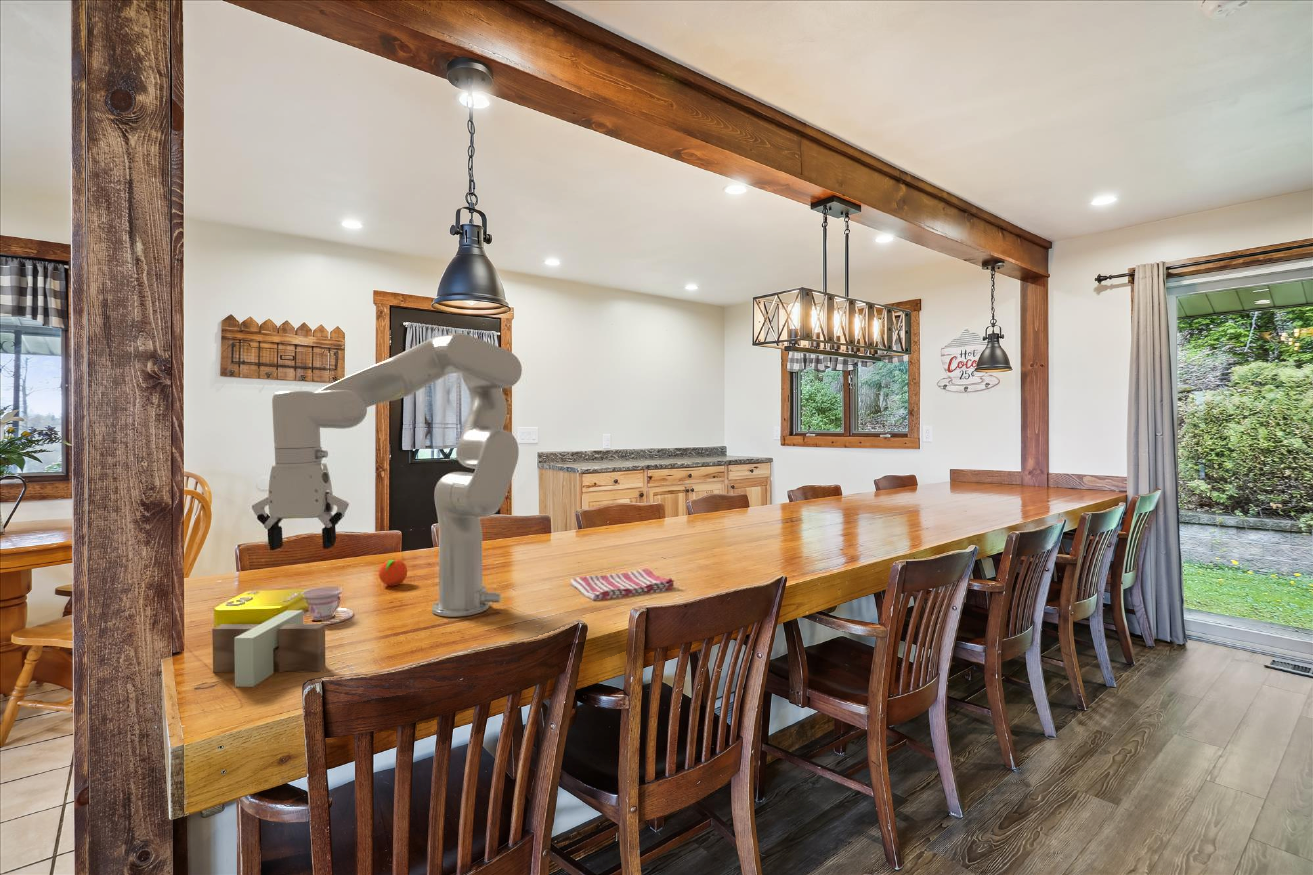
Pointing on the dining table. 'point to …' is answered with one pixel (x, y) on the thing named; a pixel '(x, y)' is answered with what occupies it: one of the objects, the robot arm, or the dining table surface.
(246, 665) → the sage cross-piece
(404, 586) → the dining table surface
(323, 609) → the teacup
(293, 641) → the walnut upright plate
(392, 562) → the clementine
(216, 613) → the element tile
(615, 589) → the dish towel
